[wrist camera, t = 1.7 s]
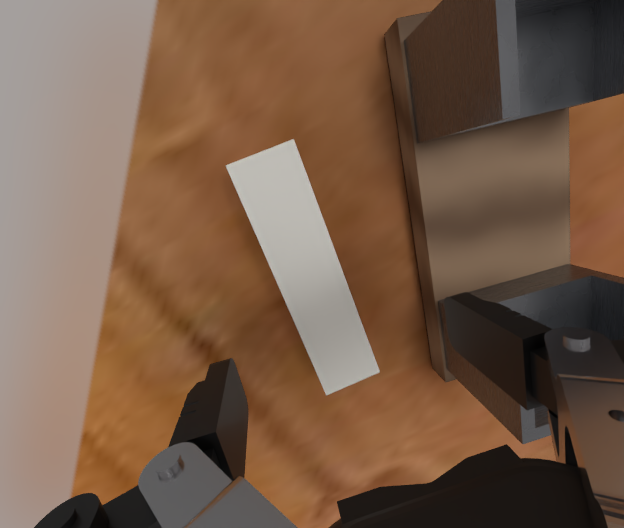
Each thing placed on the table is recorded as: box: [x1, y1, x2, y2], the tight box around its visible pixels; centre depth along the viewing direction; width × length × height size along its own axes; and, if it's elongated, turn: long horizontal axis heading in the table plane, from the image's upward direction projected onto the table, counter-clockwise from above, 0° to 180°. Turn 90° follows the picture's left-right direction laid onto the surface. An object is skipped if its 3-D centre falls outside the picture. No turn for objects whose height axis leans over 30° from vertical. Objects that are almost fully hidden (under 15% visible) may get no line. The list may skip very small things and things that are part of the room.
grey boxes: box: [404, 0, 624, 444], centre depth 18 cm, size 23×11×8 cm, turn 13°
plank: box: [384, 11, 570, 382], centre depth 23 cm, size 25×11×2 cm, turn 13°
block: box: [226, 139, 380, 396], centre depth 21 cm, size 16×4×4 cm, turn 21°
